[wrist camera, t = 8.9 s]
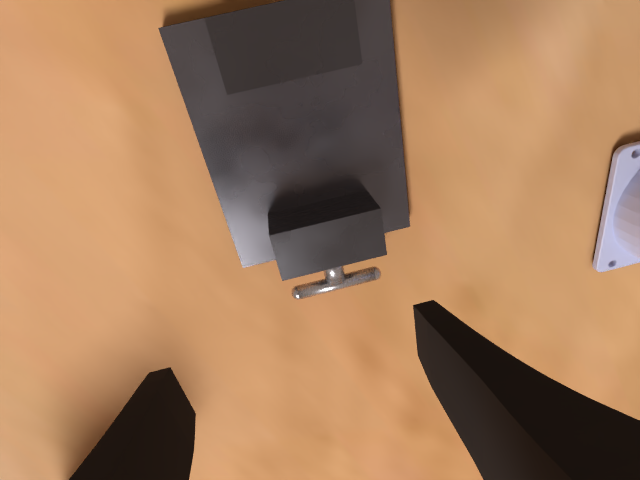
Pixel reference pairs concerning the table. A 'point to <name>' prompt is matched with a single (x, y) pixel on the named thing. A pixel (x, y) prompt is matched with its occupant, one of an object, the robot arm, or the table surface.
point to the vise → (299, 131)
